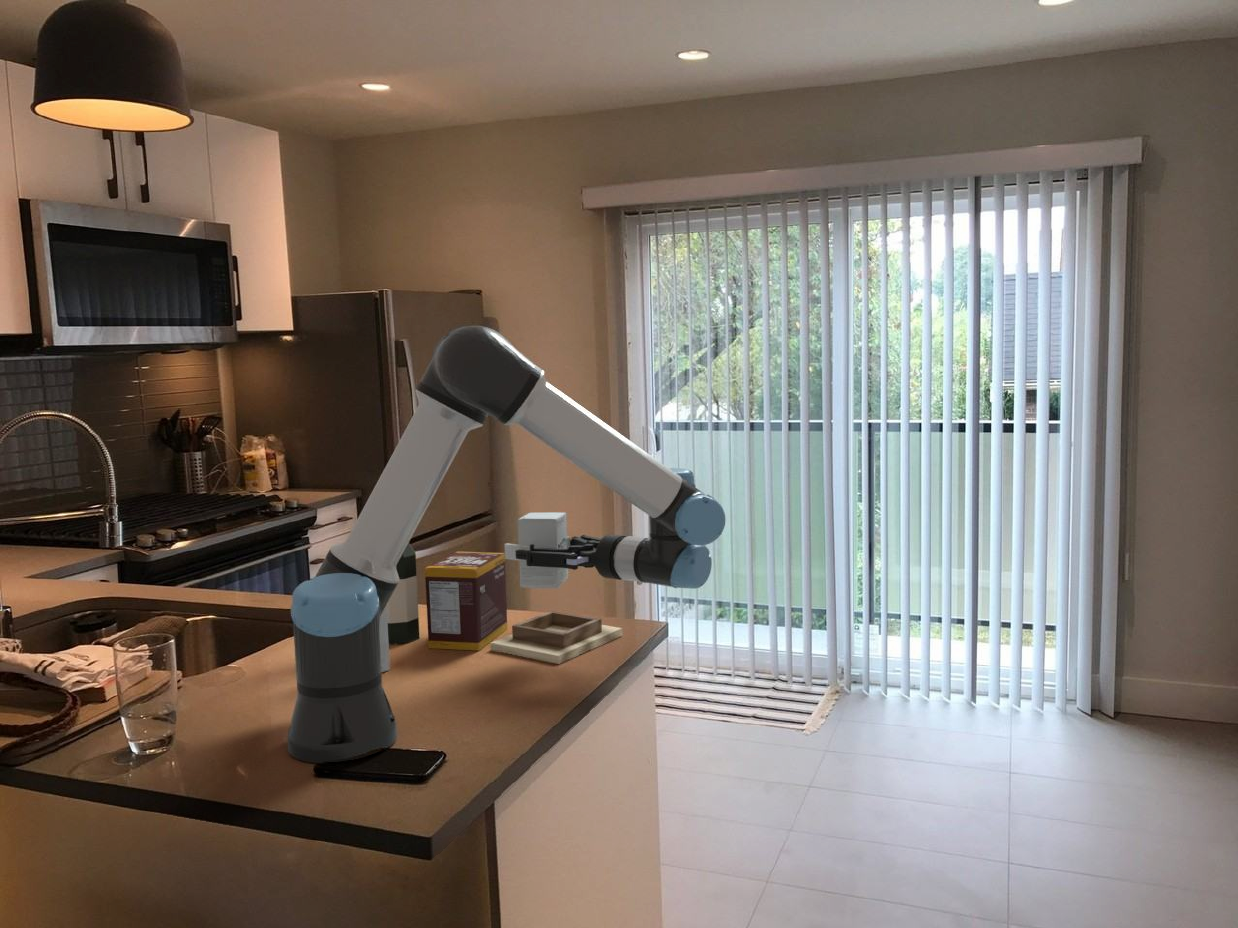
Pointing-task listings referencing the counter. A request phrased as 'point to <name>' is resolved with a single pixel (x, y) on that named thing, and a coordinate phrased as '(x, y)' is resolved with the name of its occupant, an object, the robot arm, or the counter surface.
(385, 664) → the skincare box
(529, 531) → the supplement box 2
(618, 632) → the dock
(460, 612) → the supplement box
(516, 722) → the counter surface
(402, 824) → the counter surface
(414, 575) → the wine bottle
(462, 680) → the counter surface
